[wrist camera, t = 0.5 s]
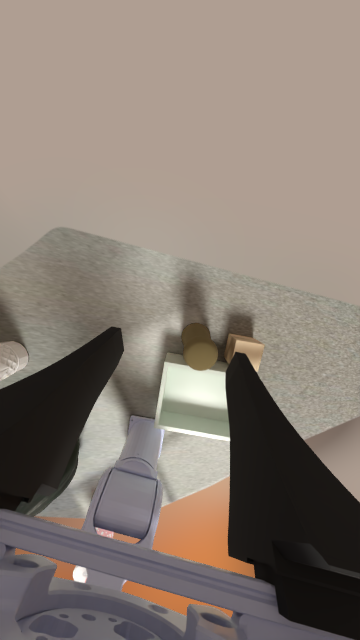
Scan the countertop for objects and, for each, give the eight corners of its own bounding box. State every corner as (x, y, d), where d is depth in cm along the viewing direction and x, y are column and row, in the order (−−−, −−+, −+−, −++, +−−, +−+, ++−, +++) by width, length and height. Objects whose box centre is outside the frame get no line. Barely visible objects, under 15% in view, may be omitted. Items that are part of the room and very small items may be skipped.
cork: (205, 319, 33) (216, 330, 22) (214, 346, 34) (228, 370, 23) (177, 328, 33) (174, 343, 22) (186, 355, 34) (187, 382, 23)
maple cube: (247, 360, 34) (257, 371, 29) (223, 356, 34) (230, 366, 29) (252, 337, 33) (264, 344, 28) (228, 333, 33) (236, 339, 28)
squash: (-6, 418, 31) (-89, 547, 22) (73, 419, 32) (25, 547, 22) (40, 427, 42) (-1, 516, 33) (98, 428, 42) (74, 516, 33)
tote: (235, 423, 36) (243, 443, 31) (157, 409, 36) (153, 427, 31) (249, 366, 34) (260, 378, 29) (167, 352, 34) (164, 361, 29)
